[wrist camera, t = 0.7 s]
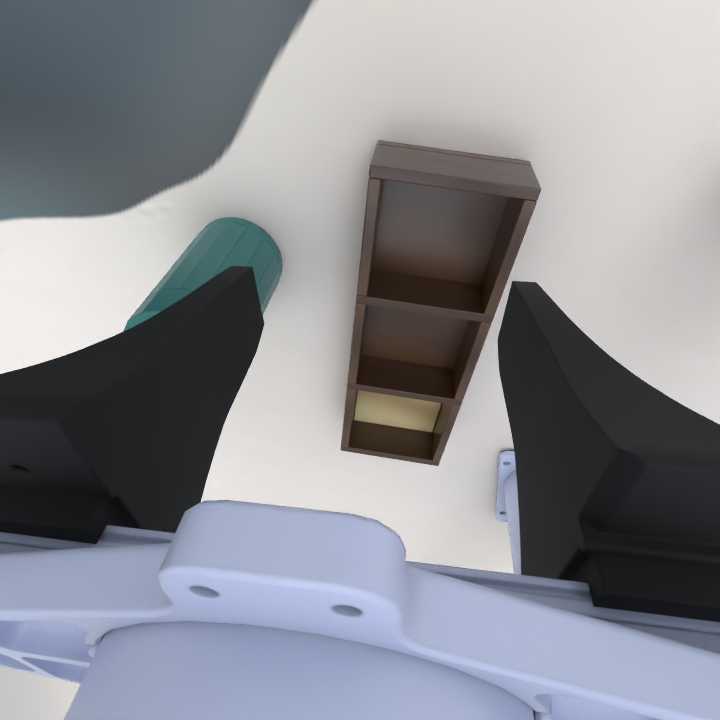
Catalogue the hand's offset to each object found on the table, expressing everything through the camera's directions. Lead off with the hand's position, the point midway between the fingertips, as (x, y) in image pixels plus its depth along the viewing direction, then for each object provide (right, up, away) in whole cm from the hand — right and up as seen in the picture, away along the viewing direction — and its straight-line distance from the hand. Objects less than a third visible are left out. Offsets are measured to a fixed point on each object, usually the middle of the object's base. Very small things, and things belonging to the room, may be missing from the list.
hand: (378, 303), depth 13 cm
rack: (+3, +1, +13) cm, 13 cm away
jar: (-7, +4, +12) cm, 14 cm away
